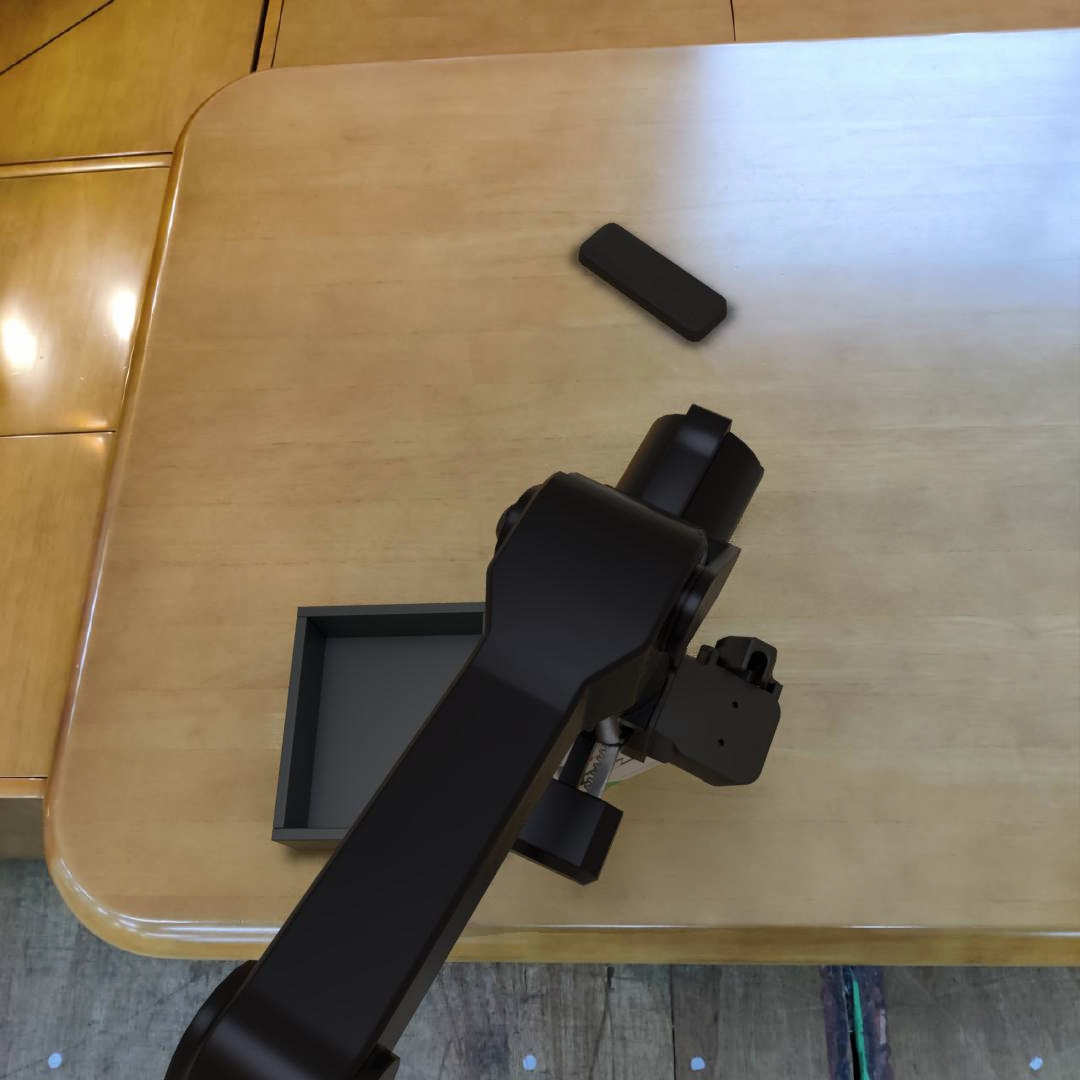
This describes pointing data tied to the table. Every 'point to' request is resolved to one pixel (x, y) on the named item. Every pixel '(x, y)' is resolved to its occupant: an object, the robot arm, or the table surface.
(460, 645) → the dark grey open tray
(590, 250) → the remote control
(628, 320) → the table surface
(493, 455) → the table surface
